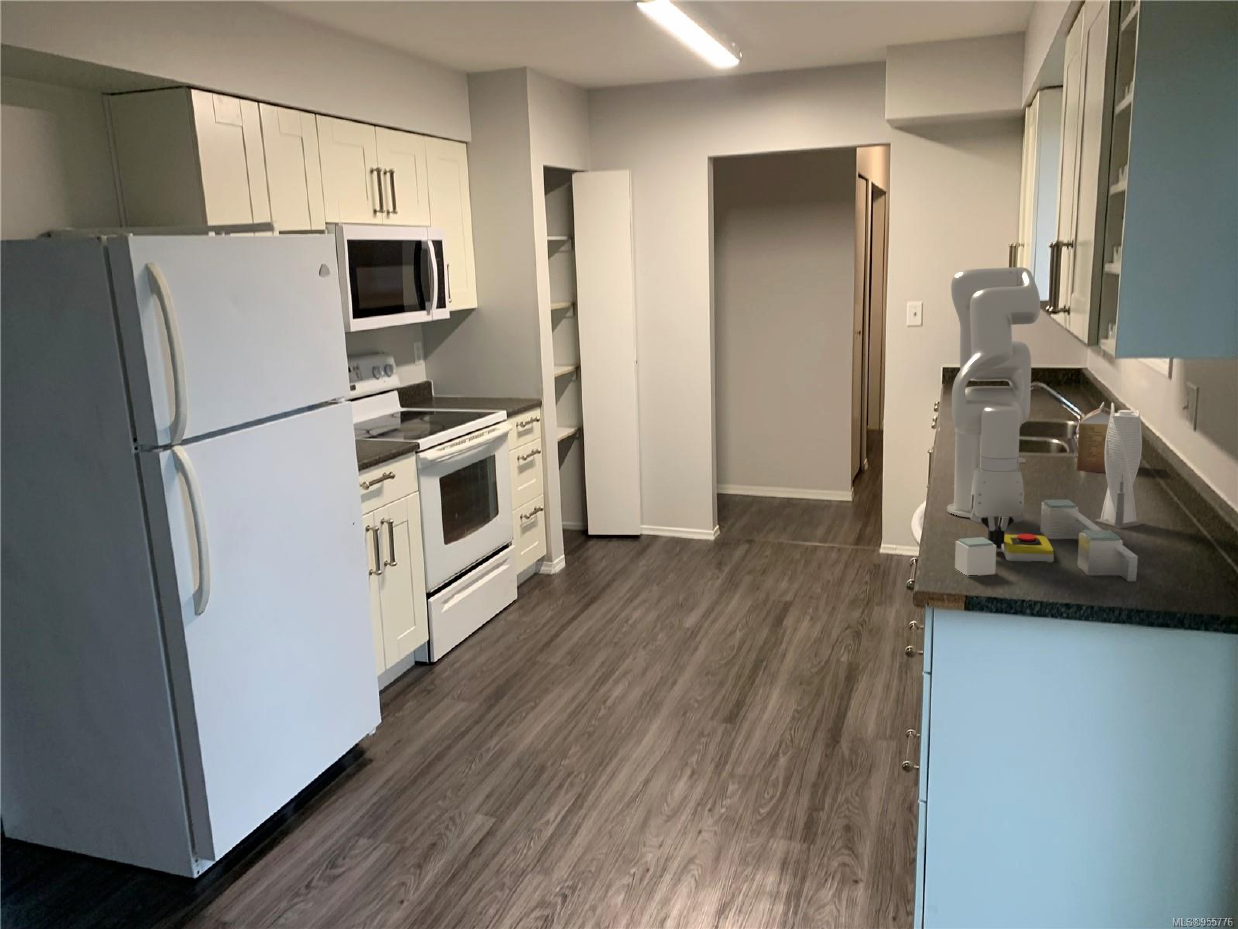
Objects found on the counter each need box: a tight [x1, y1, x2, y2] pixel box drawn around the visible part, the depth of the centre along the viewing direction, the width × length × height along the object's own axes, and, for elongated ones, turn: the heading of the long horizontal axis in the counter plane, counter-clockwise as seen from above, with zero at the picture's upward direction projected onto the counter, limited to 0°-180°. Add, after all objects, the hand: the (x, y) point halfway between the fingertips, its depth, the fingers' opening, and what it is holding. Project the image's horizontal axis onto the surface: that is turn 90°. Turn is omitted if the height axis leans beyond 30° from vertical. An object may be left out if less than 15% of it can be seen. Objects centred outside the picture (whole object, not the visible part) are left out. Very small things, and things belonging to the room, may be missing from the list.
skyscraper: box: [1093, 402, 1143, 530], centre depth 210 cm, size 8×8×28 cm
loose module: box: [954, 536, 997, 577], centre depth 183 cm, size 5×6×6 cm
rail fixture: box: [1039, 499, 1139, 582], centre depth 192 cm, size 38×8×8 cm, turn 171°
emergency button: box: [1001, 533, 1055, 563], centre depth 193 cm, size 9×4×15 cm
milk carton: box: [1076, 401, 1111, 473], centre depth 265 cm, size 11×11×19 cm
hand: (995, 546), depth 195 cm, fingers closed
